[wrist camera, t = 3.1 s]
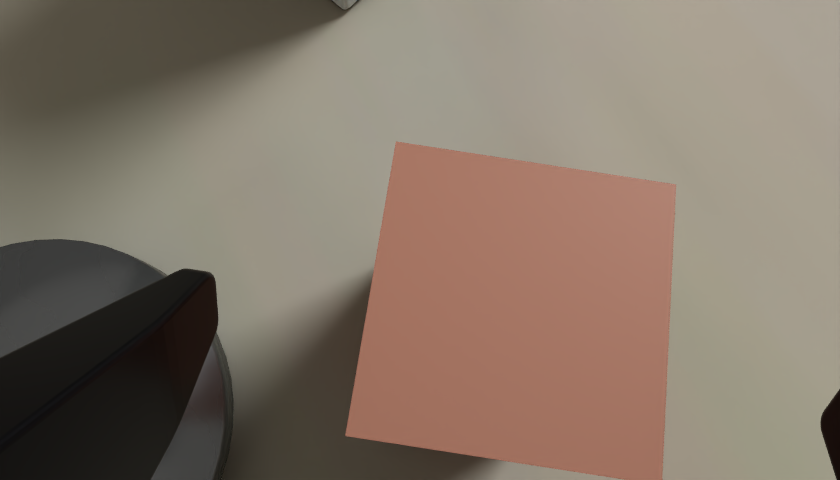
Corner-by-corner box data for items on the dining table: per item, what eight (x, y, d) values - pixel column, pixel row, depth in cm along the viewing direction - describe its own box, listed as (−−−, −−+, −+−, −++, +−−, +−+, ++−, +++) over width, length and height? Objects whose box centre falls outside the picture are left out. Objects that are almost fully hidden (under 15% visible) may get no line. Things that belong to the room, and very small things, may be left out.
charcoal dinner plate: (184, 654, 15) (168, 674, 14) (-200, 594, 15) (-241, 609, 14) (267, 274, 17) (259, 268, 16) (-65, 223, 17) (-92, 214, 16)
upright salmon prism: (529, 431, 16) (661, 485, 8) (373, 406, 16) (345, 436, 8) (545, 276, 17) (675, 184, 9) (398, 253, 17) (396, 141, 9)
